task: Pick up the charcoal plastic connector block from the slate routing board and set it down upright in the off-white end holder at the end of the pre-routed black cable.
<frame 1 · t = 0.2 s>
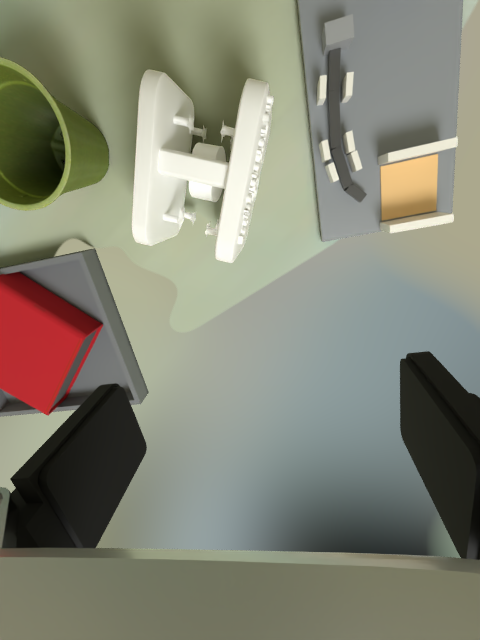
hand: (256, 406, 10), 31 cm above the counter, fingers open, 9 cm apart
plant pot: (84, 154, 37), on the counter
routing board: (377, 95, 31), on the counter
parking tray: (46, 338, 48), on the counter
cable organizer: (219, 177, 36), on the counter
red device housing: (45, 338, 48), resting on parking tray
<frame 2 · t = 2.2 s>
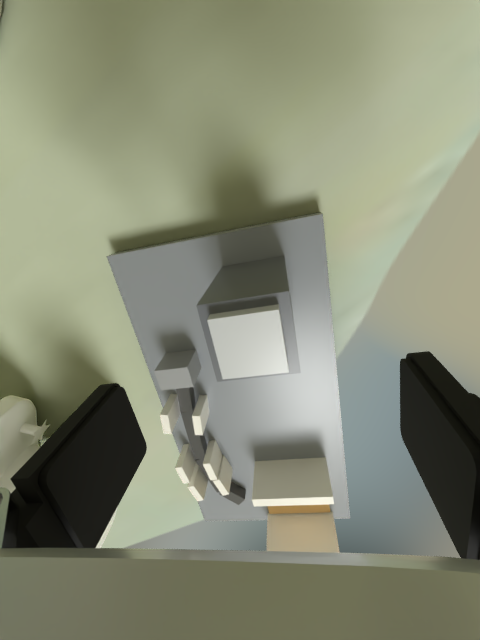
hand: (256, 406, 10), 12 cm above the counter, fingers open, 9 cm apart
routing board: (249, 398, 25), on the counter
cable organizer: (79, 446, 30), on the counter
connector: (258, 290, 20), point 1 cm above the counter, touching routing board
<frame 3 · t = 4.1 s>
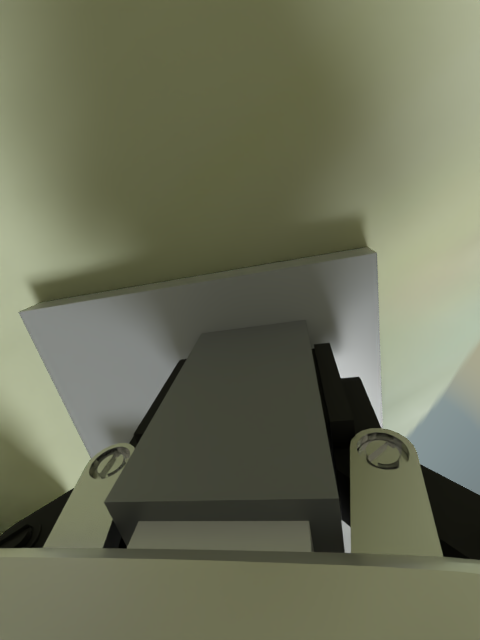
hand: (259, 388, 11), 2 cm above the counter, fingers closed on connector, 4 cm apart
routing board: (247, 507, 17), on the counter
connector: (261, 371, 12), point 1 cm above the counter, touching gripper, routing board
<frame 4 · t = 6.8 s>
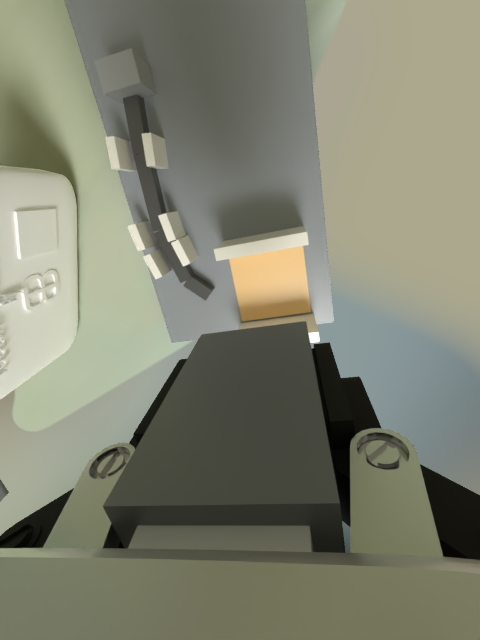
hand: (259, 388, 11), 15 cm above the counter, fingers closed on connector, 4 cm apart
routing board: (215, 157, 22), on the counter
cable organizer: (33, 255, 27), on the counter
connector: (261, 373, 12), point 14 cm above the counter, touching gripper
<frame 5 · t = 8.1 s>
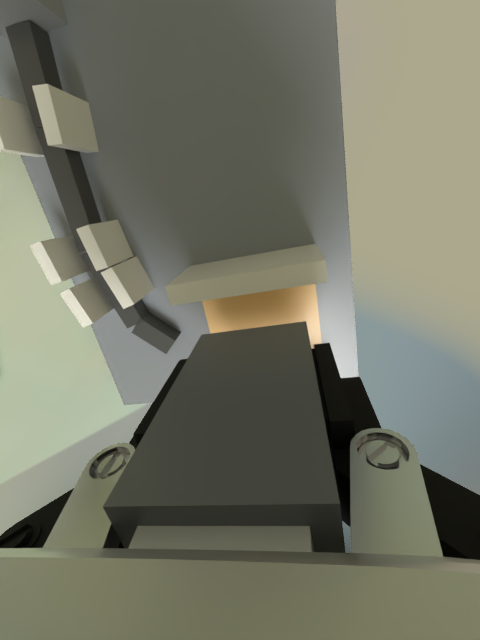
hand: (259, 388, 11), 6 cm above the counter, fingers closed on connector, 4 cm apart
routing board: (175, 135, 14), on the counter
connector: (261, 373, 12), point 5 cm above the counter, touching gripper
when the fingers open (4 cm above the counter, at t = 9.4 s): connector drops 1 cm, resting on routing board.
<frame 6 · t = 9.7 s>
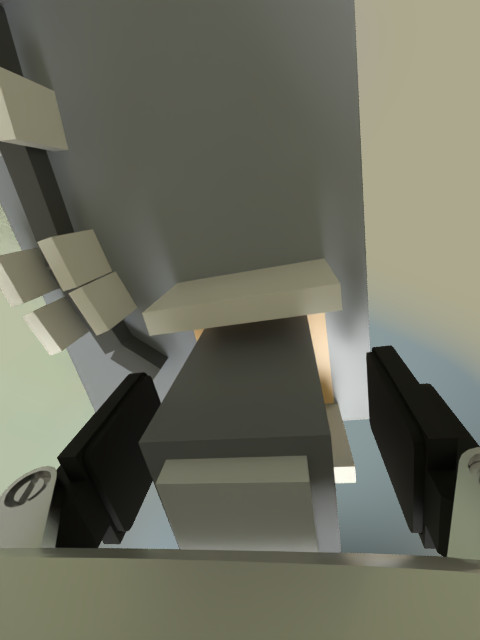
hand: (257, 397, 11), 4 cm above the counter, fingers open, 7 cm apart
routing board: (160, 130, 12), on the counter
connector: (263, 355, 13), point 1 cm above the counter, touching routing board
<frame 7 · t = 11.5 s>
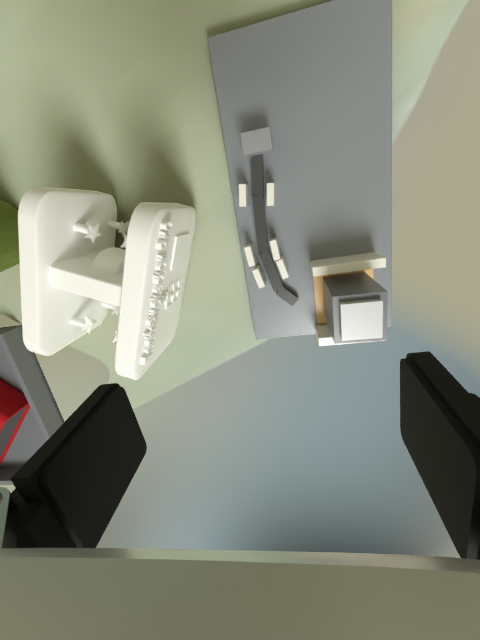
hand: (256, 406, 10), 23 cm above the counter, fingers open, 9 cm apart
plant pot: (7, 233, 35), on the counter
routing board: (308, 198, 29), on the counter
cable organizer: (148, 265, 34), on the counter
connector: (344, 294, 30), point 1 cm above the counter, touching routing board
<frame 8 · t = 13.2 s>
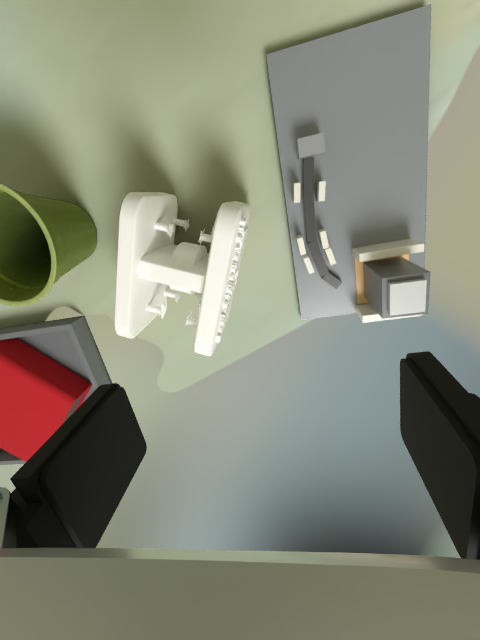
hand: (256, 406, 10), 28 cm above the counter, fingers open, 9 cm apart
plant pot: (73, 233, 39), on the counter
routing board: (351, 193, 32), on the counter
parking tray: (38, 393, 50), on the counter
cable organizer: (202, 257, 38), on the counter
red device housing: (37, 393, 50), resting on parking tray
connector: (382, 277, 34), point 1 cm above the counter, touching routing board
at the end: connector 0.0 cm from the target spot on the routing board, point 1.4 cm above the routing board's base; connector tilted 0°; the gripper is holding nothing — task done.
